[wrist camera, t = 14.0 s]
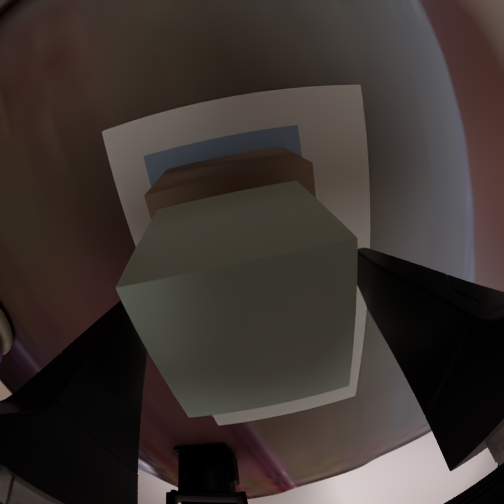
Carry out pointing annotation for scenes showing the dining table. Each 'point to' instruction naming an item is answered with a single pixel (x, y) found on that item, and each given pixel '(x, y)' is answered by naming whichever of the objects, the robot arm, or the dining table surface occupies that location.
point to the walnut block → (229, 177)
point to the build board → (248, 140)
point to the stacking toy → (5, 335)
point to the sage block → (245, 298)
